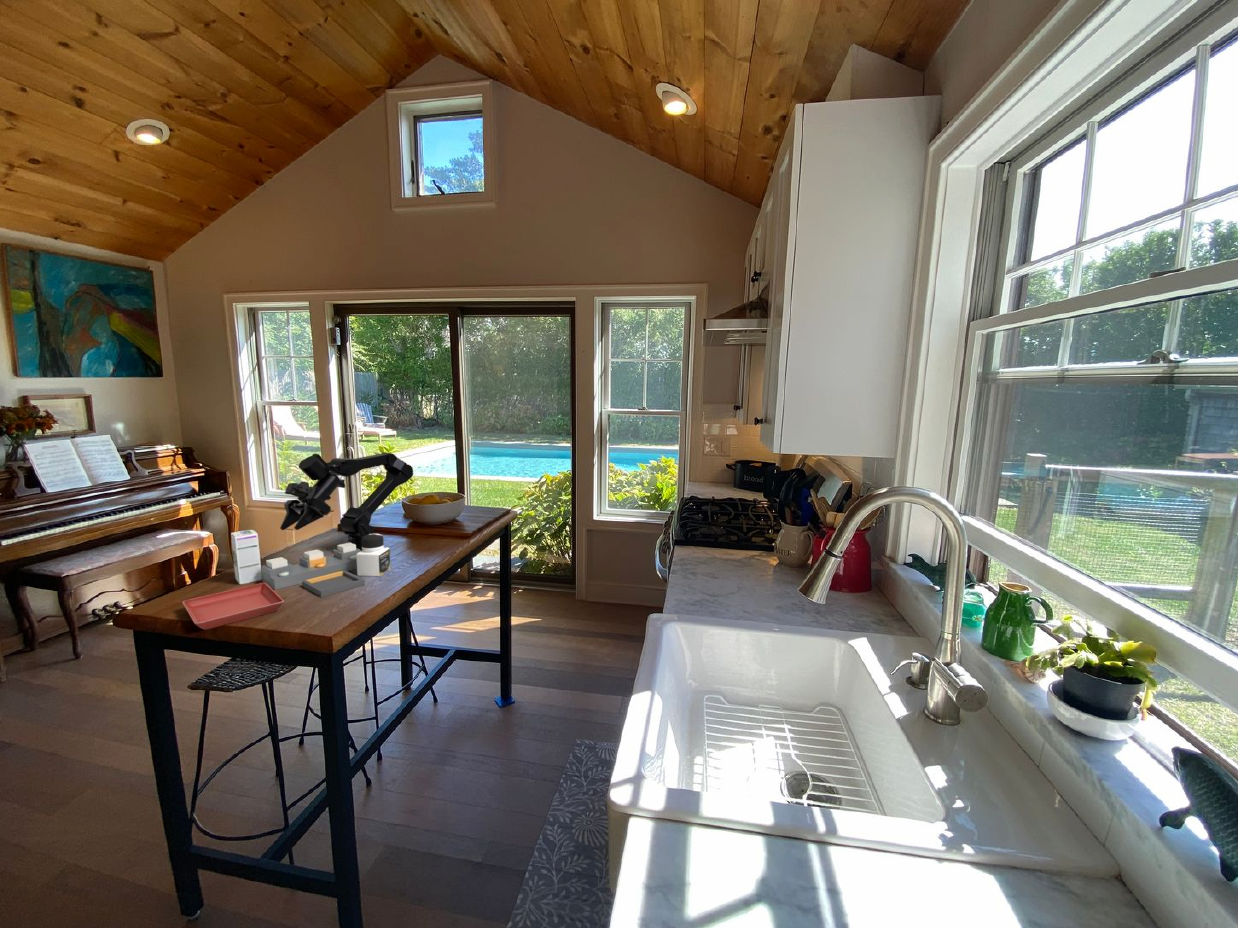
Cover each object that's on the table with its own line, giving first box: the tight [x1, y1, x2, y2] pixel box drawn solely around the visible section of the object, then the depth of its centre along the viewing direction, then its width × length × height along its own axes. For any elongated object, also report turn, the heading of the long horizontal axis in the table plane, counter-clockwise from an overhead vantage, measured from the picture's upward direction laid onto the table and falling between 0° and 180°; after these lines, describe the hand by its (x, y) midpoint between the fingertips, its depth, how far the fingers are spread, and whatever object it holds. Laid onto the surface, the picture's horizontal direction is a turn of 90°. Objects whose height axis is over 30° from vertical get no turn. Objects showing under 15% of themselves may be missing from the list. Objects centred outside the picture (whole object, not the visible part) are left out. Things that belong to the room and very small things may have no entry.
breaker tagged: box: [303, 549, 324, 561], centre depth 160 cm, size 4×4×2 cm
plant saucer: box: [182, 582, 285, 631], centre depth 132 cm, size 18×18×3 cm
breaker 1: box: [265, 556, 288, 569], centre depth 152 cm, size 4×4×2 cm
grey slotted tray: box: [261, 548, 360, 591], centre depth 159 cm, size 26×9×5 cm, turn 143°
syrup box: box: [230, 529, 263, 585], centre depth 152 cm, size 6×6×14 cm
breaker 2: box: [336, 542, 356, 553], centre depth 167 cm, size 4×4×2 cm
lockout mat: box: [301, 570, 366, 598], centre depth 150 cm, size 12×12×2 cm
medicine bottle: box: [356, 533, 391, 577], centre depth 161 cm, size 7×7×12 cm
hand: (288, 529), depth 157 cm, fingers open, 9 cm apart
